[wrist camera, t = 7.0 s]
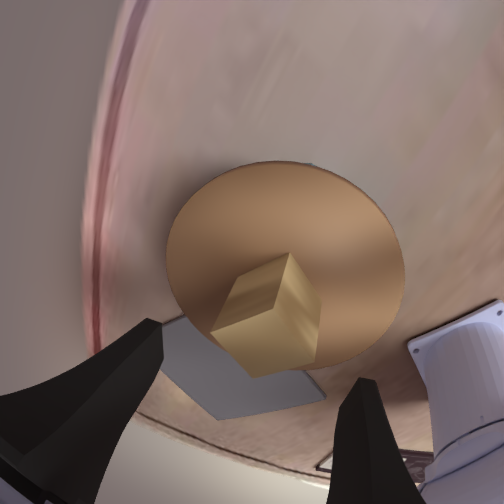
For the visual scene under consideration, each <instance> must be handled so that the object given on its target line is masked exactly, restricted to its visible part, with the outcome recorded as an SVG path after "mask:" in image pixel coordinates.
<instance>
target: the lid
mask: <svg viewBox="0 0 504 504" xmlns="http://www.w3.org/2000/svg"><path fill="white" fill-rule="evenodd" d="M166 269H167V275H168V280H169V283H170V286H171V289H172V292H173V294H174V297H175V299H176V301H177V303H178V305H179V306H180V308H181V310H182V311H183V313H184V314H185V316H186V317H187V318H188V319H189V321H190V322H191V323H192V324H193V325H194V327H195V328H196V329H197V330H198V331H199V332H200V333H201V334H203V335H204V336H205V337H206V338H207V339H209V340H210V341H211V342H212V343H214V344H215V345H217V346H218V347H220V348H221V349H223V350H224V351H226V352H228V353H229V354H230V355H231V356H232V357H233V358H234V359H235V360H236V361H237V363H238V364H239V365H240V366H241V367H242V368H243V369H244V370H245V371H246V372H247V373H248V374H249V375H250V376H251V377H252V378H253V379H255V378H259V377H263V376H267V375H270V374H274V373H278V372H282V371H285V370H296V371H297V370H313V369H320V368H325V367H329V366H333V365H336V364H339V363H342V362H344V361H347V360H349V359H351V358H353V357H355V356H357V355H359V354H360V353H362V352H363V351H365V350H366V349H368V348H369V347H370V346H372V345H373V344H374V343H375V342H376V341H377V340H378V339H379V338H380V337H381V336H382V335H383V334H384V333H385V332H386V330H387V329H388V328H389V326H390V325H391V323H392V322H393V320H394V318H395V316H396V314H397V312H398V310H399V307H400V304H401V301H402V297H403V293H404V285H405V269H404V262H403V257H402V252H401V249H400V246H399V243H398V240H397V238H396V235H395V232H394V230H393V228H392V226H391V224H390V223H389V221H388V219H387V217H386V216H385V214H384V213H383V212H382V210H381V209H380V208H379V207H378V206H377V204H376V203H375V202H374V201H373V200H372V199H371V198H370V197H369V196H368V195H367V194H366V193H365V192H363V191H362V190H361V189H360V188H358V187H357V186H355V185H354V184H352V183H351V182H350V181H348V180H347V179H345V178H343V177H341V176H339V175H337V174H335V173H333V172H331V171H328V170H325V169H322V168H319V167H316V166H313V165H309V164H304V163H298V162H292V161H266V162H256V163H252V164H248V165H244V166H240V167H237V168H235V169H232V170H230V171H227V172H225V173H223V174H221V175H219V176H218V177H216V178H214V179H213V180H211V181H210V182H208V183H207V184H206V185H205V186H203V187H202V188H201V189H200V190H199V191H197V192H196V193H195V194H194V195H193V196H192V197H191V198H190V199H189V200H188V201H187V203H186V204H185V205H184V206H183V207H182V209H181V210H180V212H179V213H178V215H177V217H176V218H175V220H174V223H173V225H172V227H171V230H170V233H169V237H168V241H167V247H166Z"/></svg>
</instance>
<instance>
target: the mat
mask: <svg viewBox="0 0 504 504" xmlns="http://www.w3.org/2000/svg"><path fill="white" fill-rule="evenodd" d="M162 335H163V350H164V360H163V362H162V364H161V367H160V370H161V371H162V372H163V373H164V374H165V375H167V376H168V377H169V378H170V379H171V380H172V381H173V382H174V383H175V384H176V385H177V386H178V387H179V388H181V389H182V390H183V391H184V392H185V393H186V394H187V395H188V396H189V397H191V398H192V399H193V400H194V401H195V402H196V403H197V404H199V405H200V406H201V407H202V408H203V409H204V410H206V411H207V412H208V413H209V414H210V415H212V416H213V417H214V418H215V419H216V420H224V419H231V418H238V417H244V416H250V415H256V414H261V413H267V412H272V411H277V410H282V409H287V408H291V407H296V406H300V405H305V404H309V403H313V402H317V401H321V400H325V399H326V395H325V394H324V392H323V391H322V390H321V389H320V388H319V387H318V385H317V384H316V383H315V382H314V381H313V380H312V379H311V377H310V376H309V375H308V374H307V373H306V372H305V370H297V371H296V370H285V371H282V372H278V373H274V374H270V375H267V376H263V377H259V378H255V379H253V378H252V377H251V376H250V375H249V374H248V373H247V372H246V371H245V370H244V369H243V368H242V367H241V366H240V365H239V364H238V363H237V361H236V360H235V359H234V358H233V357H232V356H231V355H230V354H229V353H228V352H226V351H224V350H223V349H221V348H220V347H218V346H217V345H215V344H214V343H212V342H211V341H210V340H209V339H207V338H206V337H205V336H204V335H203V334H201V333H200V332H199V331H198V330H197V329H196V328H195V327H194V325H193V324H192V323H191V322H190V321H189V319H188V318H187V317H186V316H185V315H184V316H182V317H179V318H177V319H175V320H173V321H171V322H168V323H166V324H164V325H162Z"/></svg>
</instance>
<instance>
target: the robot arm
mask: <svg viewBox="0 0 504 504" xmlns="http://www.w3.org/2000/svg"><path fill="white" fill-rule="evenodd" d="M499 310H500V311H499ZM498 311H499V312H498ZM407 345H408V350H409V352H410V354H411V356H412V358H413V360H414V362H415V364H416V366H417V368H418V371H419V373H420V375H421V377H422V379H423V381H424V384H425V386H426V388H427V393H428V400H429V408H430V417H431V426H432V437H433V450H434V462H433V463H432V464H430V465H428V466H427V467H425V481H423V482H422V483H421V484H419V485H418V486H417V487H416V485H415V483H414V481H413V479H412V477H411V475H410V473H409V471H408V469H407V467H406V465H405V463H404V460H403V458H402V456H401V453H400V451H399V448H398V446H397V443H396V441H395V438H394V435H393V433H392V430H391V427H390V424H389V421H388V418H387V415H386V412H385V409H384V406H383V403H382V400H381V397H380V394H379V390H378V387H377V384H376V382H375V380H370V379H365V378H360V377H359V378H358V380H357V381H356V383H355V385H354V386H353V388H352V389H351V391H350V392H349V394H348V395H347V397H346V398H345V400H344V401H343V403H342V404H341V406H340V407H339V412H338V417H337V422H336V428H335V434H334V447H333V459H332V470H331V480H330V488H329V494H328V498H327V502H326V504H504V303H503V302H502V300H496V301H494V302H492V303H491V304H489V305H487V306H485V307H483V308H481V309H479V310H477V311H475V312H473V313H471V314H469V315H466V316H464V317H462V318H460V319H458V320H456V321H454V322H451V323H449V324H447V325H445V326H443V327H440V328H438V329H436V330H433V331H431V332H429V333H426V334H424V335H422V336H419V337H417V338H414V339H412V340H410V341H409V342H408V344H407ZM414 349H416V350H414ZM163 360H164V350H163V335H162V323H160V322H157V321H154V320H151V319H149V318H146V319H144V320H143V321H142V322H140V323H139V324H138V325H136V326H135V327H134V328H132V329H131V330H130V331H128V332H127V333H126V334H124V335H123V336H121V337H120V338H119V339H117V340H116V341H114V342H113V343H112V344H110V345H109V346H107V347H106V348H104V349H103V350H101V351H100V352H98V353H97V354H95V355H94V356H92V357H91V358H89V359H87V360H86V361H84V362H82V363H81V364H79V365H77V366H76V367H74V368H72V369H70V370H69V371H66V372H64V373H62V374H60V375H58V376H56V377H54V378H52V379H50V380H47V381H45V382H43V383H40V384H38V385H35V386H32V387H30V388H26V389H23V390H20V391H17V392H14V393H10V394H7V395H2V396H0V504H94V502H95V499H96V496H97V493H98V490H99V487H100V484H101V482H102V479H103V476H104V474H105V471H106V468H107V466H108V464H109V461H110V459H111V456H112V454H113V452H114V449H115V447H116V445H117V443H118V441H119V439H120V436H121V434H122V432H123V430H124V429H125V427H126V425H127V423H128V422H129V420H130V419H131V417H132V415H133V414H134V412H135V411H136V409H137V407H138V406H139V404H140V403H141V401H142V399H143V398H144V396H145V395H146V393H147V391H148V390H149V388H150V387H151V385H152V383H153V382H154V380H155V377H156V375H157V373H158V371H159V369H160V367H161V364H162V362H163Z"/></svg>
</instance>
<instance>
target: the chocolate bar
mask: <svg viewBox="0 0 504 504" xmlns="http://www.w3.org/2000/svg"><path fill="white" fill-rule="evenodd" d="M399 451H400V453H401V456H402V458H403V460H404V463H405V465H406V467H407V469H408V471H409V473H410V475H411V477H412V479H413V481H414V482H415V483H422V482H423V481H425V467H427V466H428V465H430V464H432V463H433V462H434V452H424V451H414V450H404V449H399ZM332 459H333V453H332V454H331V455H330V456H328V457H327V458H326V459H325V460H324V461H323V462H322V463H320V464H319V465H318V466H317V467H316V471H322V472H327V473H331V470H332Z"/></svg>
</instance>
